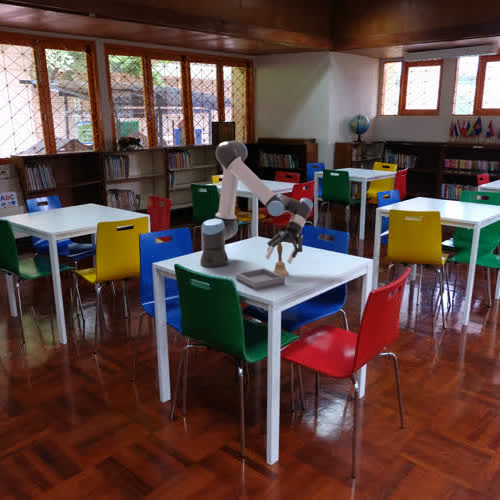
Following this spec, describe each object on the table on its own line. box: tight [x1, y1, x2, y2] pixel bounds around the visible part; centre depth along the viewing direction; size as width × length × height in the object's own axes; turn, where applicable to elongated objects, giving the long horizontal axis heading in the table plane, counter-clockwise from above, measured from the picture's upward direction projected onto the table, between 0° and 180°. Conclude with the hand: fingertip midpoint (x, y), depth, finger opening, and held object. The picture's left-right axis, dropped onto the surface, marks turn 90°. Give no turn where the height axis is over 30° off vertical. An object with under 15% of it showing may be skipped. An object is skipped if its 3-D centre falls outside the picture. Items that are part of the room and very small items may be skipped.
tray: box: [235, 267, 286, 291], centre depth 235 cm, size 18×16×4 cm
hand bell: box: [272, 242, 289, 277], centre depth 247 cm, size 8×8×16 cm
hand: (277, 260), depth 246 cm, fingers open, 13 cm apart
